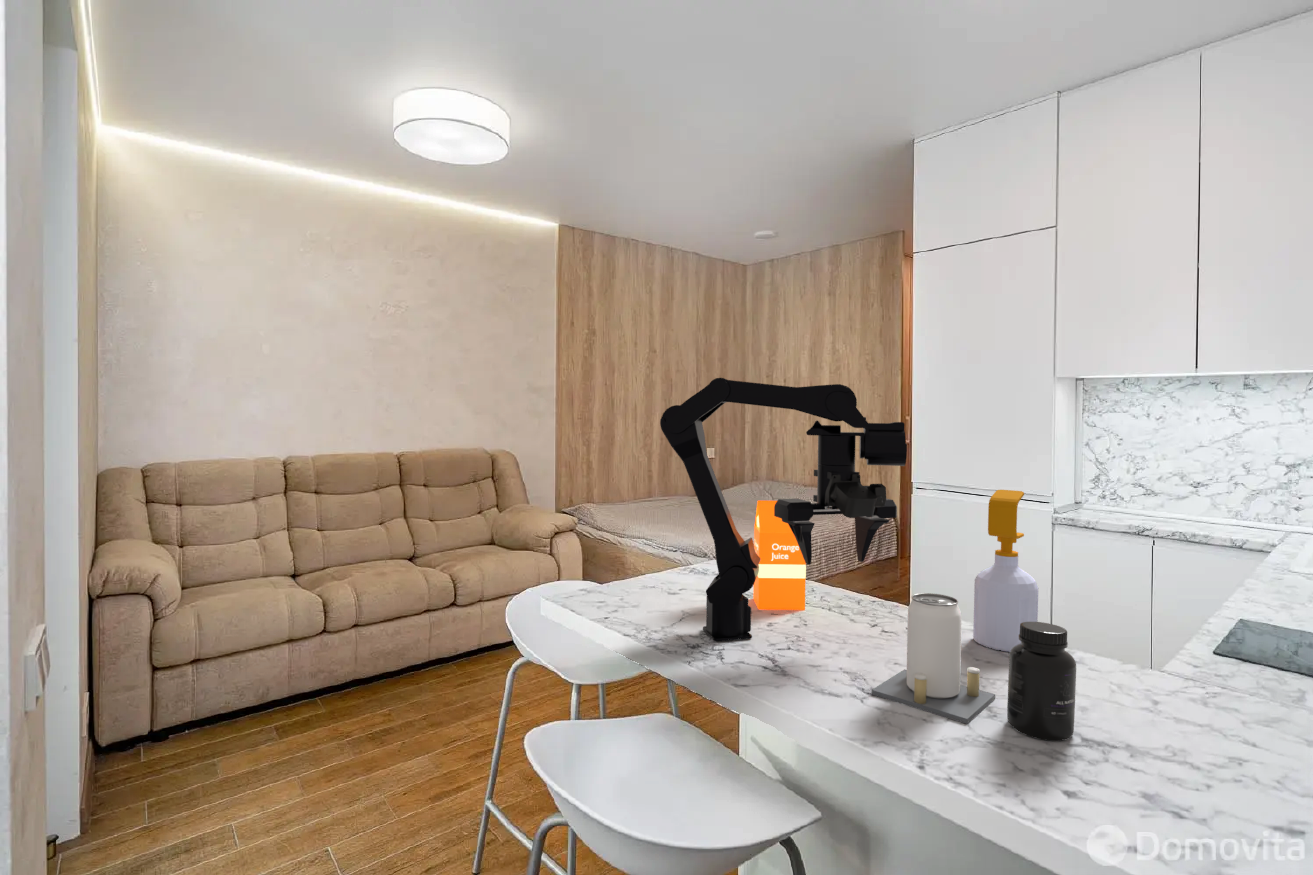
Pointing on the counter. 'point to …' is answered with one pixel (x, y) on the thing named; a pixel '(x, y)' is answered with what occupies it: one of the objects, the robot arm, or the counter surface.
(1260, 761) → the counter surface
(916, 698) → the peg board
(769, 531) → the orange juice
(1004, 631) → the soap bottle
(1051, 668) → the supplement bottle
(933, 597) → the can
